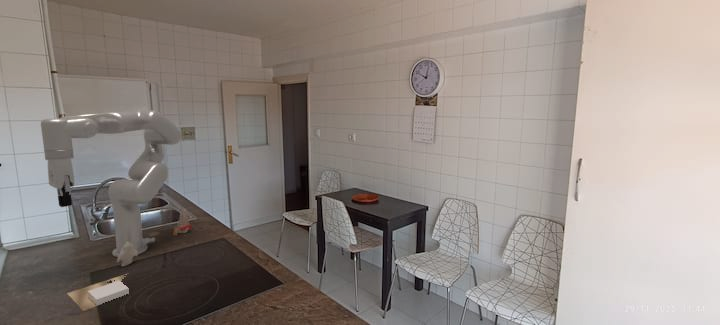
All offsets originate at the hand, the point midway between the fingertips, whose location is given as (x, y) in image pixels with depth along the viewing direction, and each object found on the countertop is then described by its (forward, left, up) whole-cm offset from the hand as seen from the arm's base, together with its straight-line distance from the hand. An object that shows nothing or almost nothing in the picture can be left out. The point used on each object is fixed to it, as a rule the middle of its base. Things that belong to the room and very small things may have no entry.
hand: (65, 205), depth 123 cm
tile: (-3, +21, -25) cm, 33 cm away
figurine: (-47, -15, -27) cm, 56 cm away
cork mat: (-4, +21, -27) cm, 35 cm away
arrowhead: (-16, +5, -27) cm, 32 cm away
